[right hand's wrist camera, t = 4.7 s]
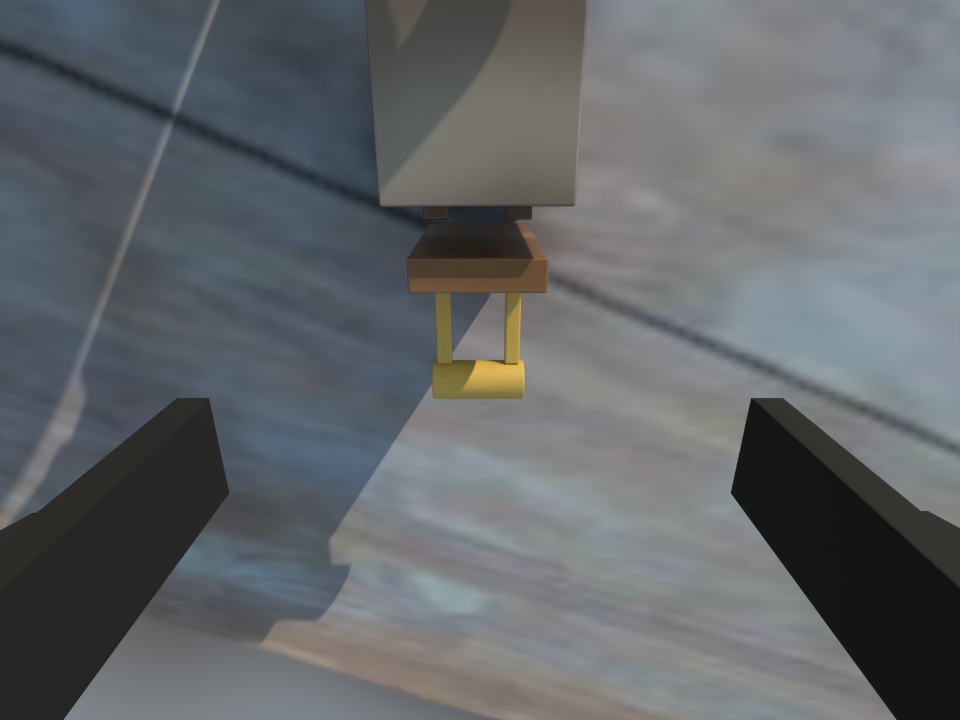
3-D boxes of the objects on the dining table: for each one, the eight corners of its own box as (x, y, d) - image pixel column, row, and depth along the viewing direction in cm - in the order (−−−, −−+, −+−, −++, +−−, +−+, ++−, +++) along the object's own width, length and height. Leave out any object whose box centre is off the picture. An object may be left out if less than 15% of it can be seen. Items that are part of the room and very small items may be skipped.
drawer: (522, 350, 28) (541, 434, 20) (434, 351, 28) (415, 434, 20) (543, -313, 18) (594, -681, 10) (409, -313, 18) (354, -681, 10)
